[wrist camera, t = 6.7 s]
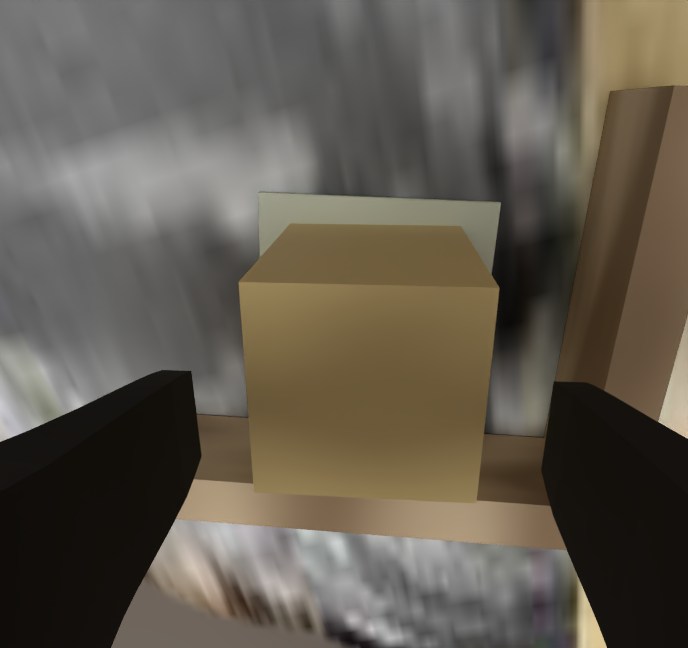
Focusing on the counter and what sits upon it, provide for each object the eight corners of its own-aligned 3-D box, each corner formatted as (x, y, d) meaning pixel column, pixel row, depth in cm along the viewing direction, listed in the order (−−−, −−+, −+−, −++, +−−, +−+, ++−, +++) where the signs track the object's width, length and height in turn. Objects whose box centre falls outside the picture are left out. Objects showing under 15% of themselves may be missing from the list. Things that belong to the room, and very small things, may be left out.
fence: (668, 93, 14) (750, 87, 11) (581, 478, 19) (621, 554, 16) (63, 75, 15) (-23, 65, 12) (116, 444, 20) (63, 509, 17)
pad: (499, 201, 16) (501, 202, 16) (471, 413, 18) (472, 416, 18) (259, 191, 16) (258, 192, 16) (264, 400, 19) (263, 403, 19)
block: (460, 225, 16) (499, 287, 10) (448, 379, 18) (476, 503, 12) (290, 223, 16) (238, 281, 11) (295, 374, 18) (254, 492, 12)
